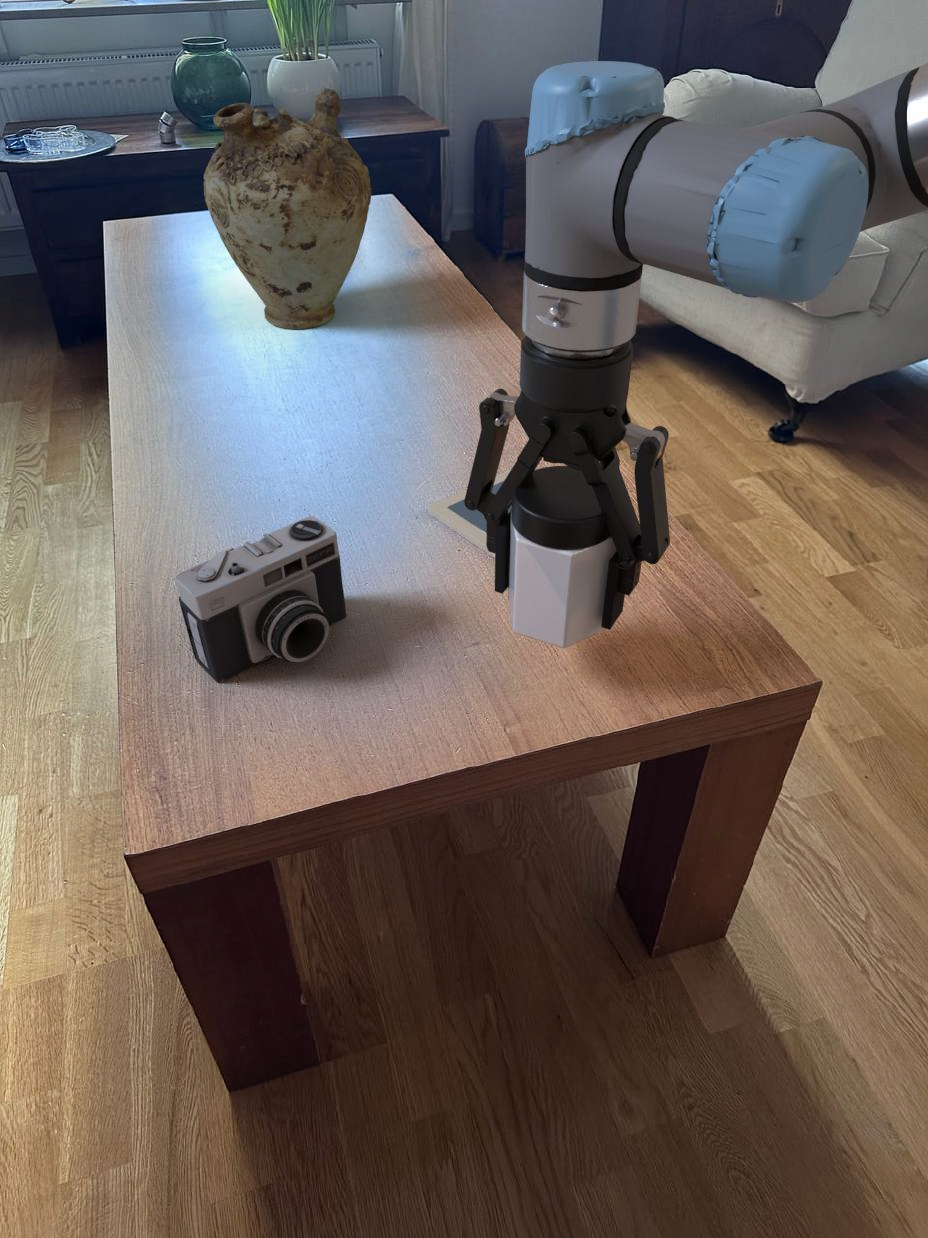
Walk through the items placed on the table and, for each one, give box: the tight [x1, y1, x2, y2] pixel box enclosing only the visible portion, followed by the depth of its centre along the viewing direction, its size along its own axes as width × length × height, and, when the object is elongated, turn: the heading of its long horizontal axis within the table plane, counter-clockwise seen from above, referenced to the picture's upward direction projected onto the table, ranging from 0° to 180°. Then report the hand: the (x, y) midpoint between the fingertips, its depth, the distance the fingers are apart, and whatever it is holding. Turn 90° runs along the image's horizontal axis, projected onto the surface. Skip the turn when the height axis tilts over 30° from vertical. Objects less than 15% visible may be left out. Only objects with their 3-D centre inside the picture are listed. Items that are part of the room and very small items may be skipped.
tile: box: [427, 468, 512, 559], centre depth 94 cm, size 14×14×1 cm
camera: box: [174, 515, 347, 684], centre depth 75 cm, size 14×9×10 cm, turn 124°
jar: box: [507, 465, 617, 649], centre depth 70 cm, size 9×8×12 cm
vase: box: [202, 87, 372, 330], centre depth 126 cm, size 23×23×30 cm
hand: (557, 600), depth 73 cm, fingers closed on jar, 9 cm apart
